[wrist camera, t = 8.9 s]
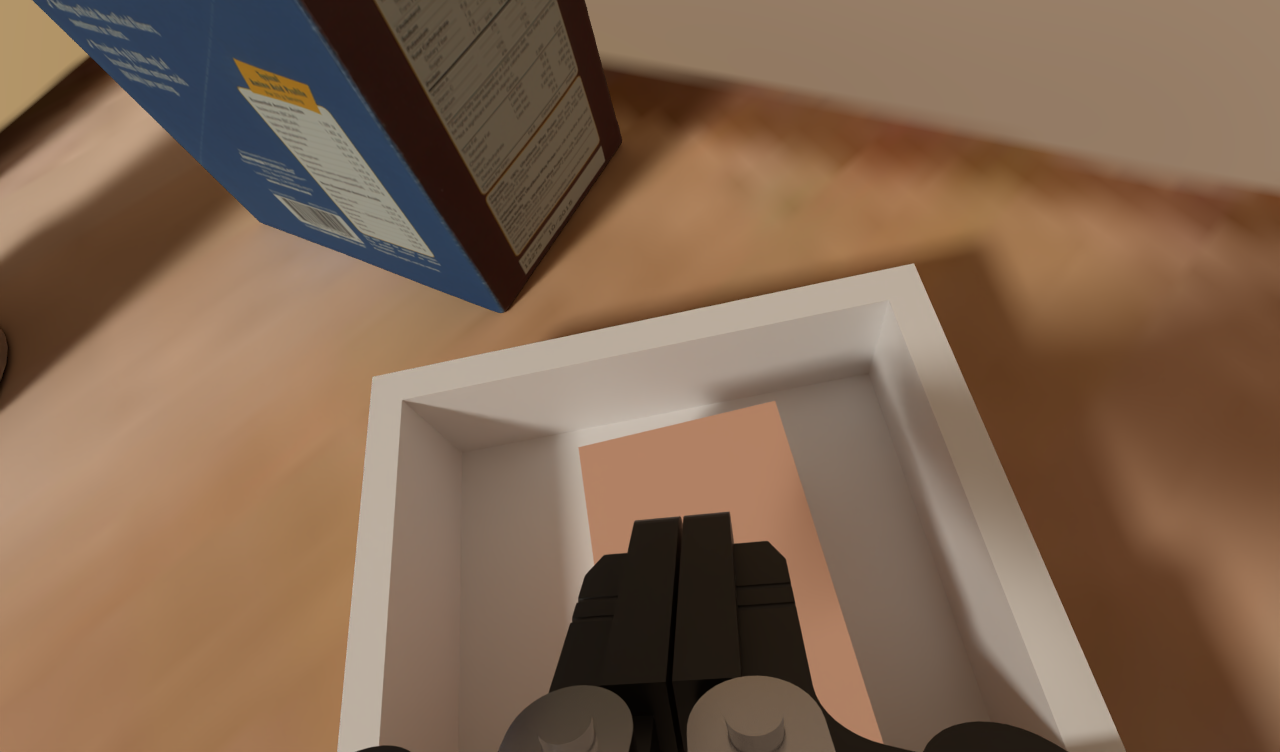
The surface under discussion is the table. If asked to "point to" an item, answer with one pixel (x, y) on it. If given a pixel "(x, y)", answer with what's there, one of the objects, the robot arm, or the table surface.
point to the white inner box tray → (675, 393)
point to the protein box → (377, 120)
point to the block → (733, 523)
